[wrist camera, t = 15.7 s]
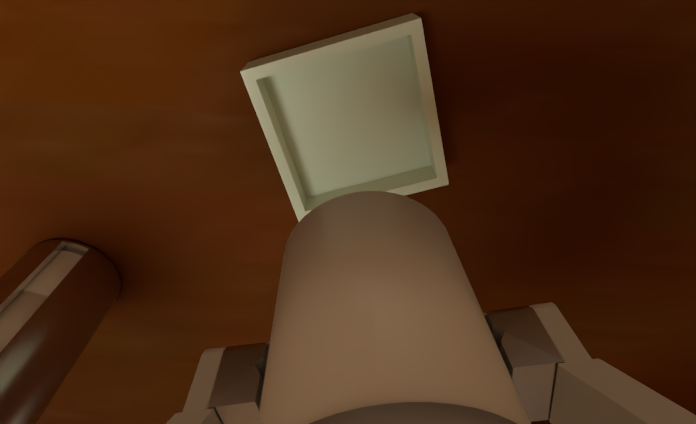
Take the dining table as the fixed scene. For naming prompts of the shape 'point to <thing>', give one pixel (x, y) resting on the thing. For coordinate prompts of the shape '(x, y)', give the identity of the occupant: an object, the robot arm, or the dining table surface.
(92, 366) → the dining table surface
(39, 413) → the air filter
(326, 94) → the service tray
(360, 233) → the cartridge
